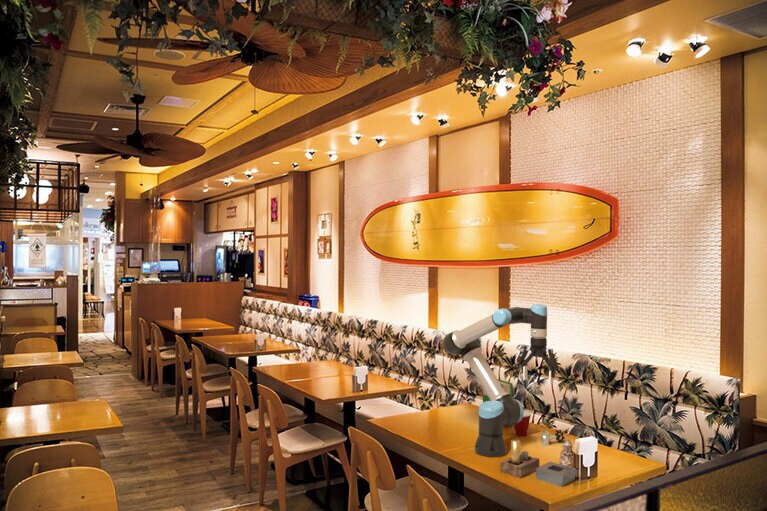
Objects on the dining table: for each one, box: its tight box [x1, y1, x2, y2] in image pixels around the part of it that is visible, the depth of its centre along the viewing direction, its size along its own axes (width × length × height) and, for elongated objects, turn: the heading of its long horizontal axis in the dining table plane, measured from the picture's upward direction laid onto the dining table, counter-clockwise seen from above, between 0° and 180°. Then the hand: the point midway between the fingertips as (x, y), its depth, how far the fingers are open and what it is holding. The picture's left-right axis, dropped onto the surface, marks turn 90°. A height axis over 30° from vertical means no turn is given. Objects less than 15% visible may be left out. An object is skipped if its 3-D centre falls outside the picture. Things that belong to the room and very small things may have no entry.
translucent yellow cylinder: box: [510, 438, 522, 466], centre depth 258 cm, size 4×4×14 cm
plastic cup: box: [513, 410, 532, 438], centre depth 314 cm, size 11×11×12 cm
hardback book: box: [482, 378, 514, 428], centre depth 336 cm, size 18×7×24 cm, turn 25°
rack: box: [499, 450, 540, 479], centre depth 261 cm, size 10×16×7 cm, turn 137°
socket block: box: [535, 461, 577, 487], centre depth 252 cm, size 12×12×4 cm
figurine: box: [558, 439, 575, 468], centre depth 266 cm, size 7×7×12 cm
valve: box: [540, 429, 566, 447], centre depth 300 cm, size 7×7×12 cm
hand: (537, 382), depth 282 cm, fingers open, 13 cm apart
